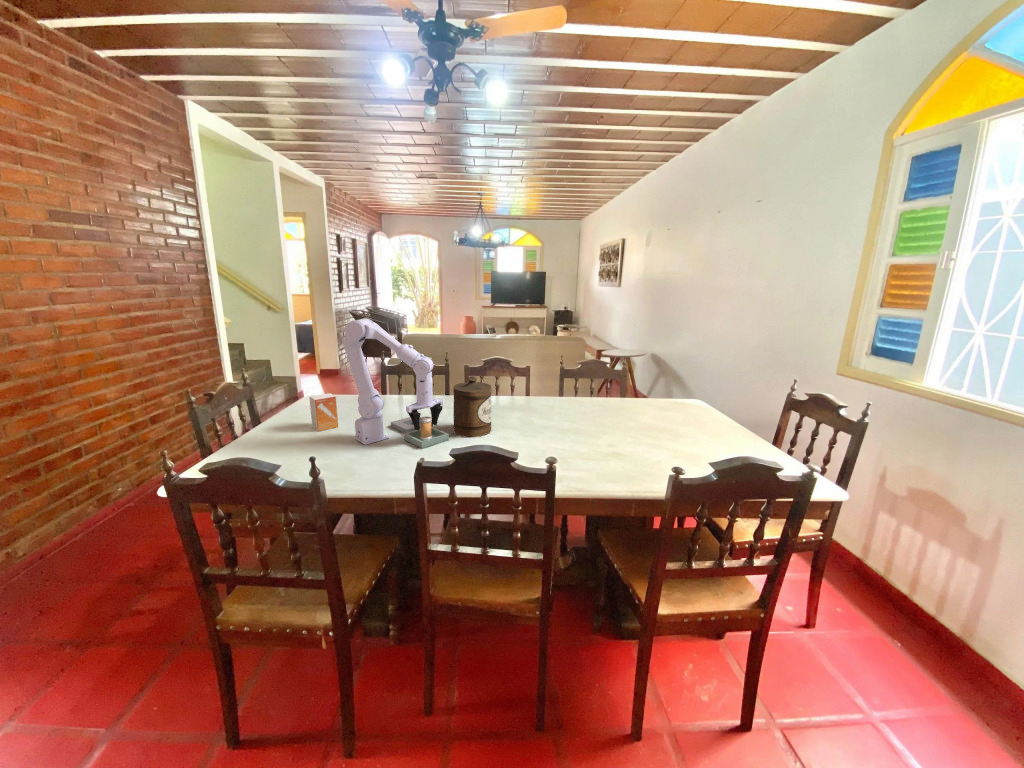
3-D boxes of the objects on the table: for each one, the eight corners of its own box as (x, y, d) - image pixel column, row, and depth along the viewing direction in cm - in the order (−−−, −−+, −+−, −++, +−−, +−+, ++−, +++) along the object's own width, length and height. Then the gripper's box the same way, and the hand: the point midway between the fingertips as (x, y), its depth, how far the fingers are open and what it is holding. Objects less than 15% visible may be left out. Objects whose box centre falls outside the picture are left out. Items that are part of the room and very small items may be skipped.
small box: (318, 432, 159) (314, 399, 156) (312, 427, 163) (308, 396, 160) (339, 427, 164) (336, 395, 161) (332, 423, 169) (329, 392, 166)
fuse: (424, 441, 149) (423, 421, 147) (418, 438, 152) (417, 418, 150) (434, 439, 152) (433, 418, 150) (427, 435, 155) (427, 415, 153)
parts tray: (422, 449, 144) (421, 442, 144) (404, 440, 152) (403, 433, 151) (448, 440, 152) (448, 434, 152) (430, 432, 160) (430, 426, 160)
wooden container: (490, 437, 156) (490, 381, 150) (451, 437, 156) (450, 380, 150) (492, 424, 170) (492, 372, 165) (456, 424, 170) (455, 372, 165)
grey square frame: (407, 434, 158) (406, 429, 157) (390, 426, 166) (390, 422, 165) (433, 427, 166) (432, 422, 165) (416, 419, 174) (416, 415, 174)
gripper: (413, 397, 140) (414, 434, 143) (447, 389, 150) (448, 424, 153) (402, 393, 145) (403, 429, 148) (436, 386, 155) (437, 420, 158)
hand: (425, 426), depth 151 cm, fingers open, 7 cm apart
